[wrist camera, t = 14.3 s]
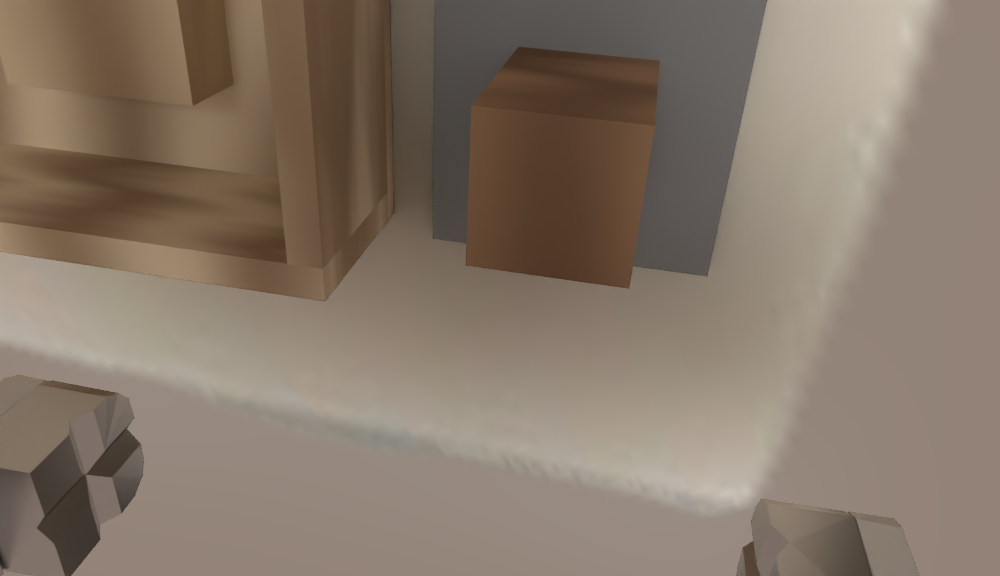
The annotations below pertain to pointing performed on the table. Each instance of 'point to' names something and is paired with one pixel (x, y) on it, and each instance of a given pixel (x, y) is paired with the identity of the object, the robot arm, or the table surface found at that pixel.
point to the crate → (197, 137)
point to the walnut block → (561, 165)
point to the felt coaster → (679, 111)
